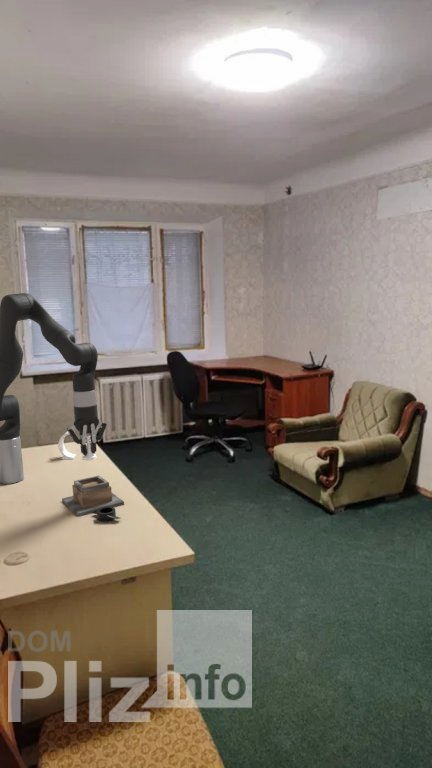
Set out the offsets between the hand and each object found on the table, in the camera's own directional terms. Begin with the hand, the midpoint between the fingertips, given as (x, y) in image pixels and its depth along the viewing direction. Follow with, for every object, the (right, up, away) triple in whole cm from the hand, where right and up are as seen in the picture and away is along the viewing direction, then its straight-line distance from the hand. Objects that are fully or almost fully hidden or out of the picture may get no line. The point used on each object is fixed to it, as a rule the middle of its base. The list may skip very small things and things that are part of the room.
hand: (88, 453), depth 181 cm
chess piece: (0, -2, 0) cm, 2 cm away
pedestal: (+1, -17, +3) cm, 17 cm away
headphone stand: (-22, -9, +54) cm, 59 cm away
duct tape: (+8, -20, -10) cm, 23 cm away
